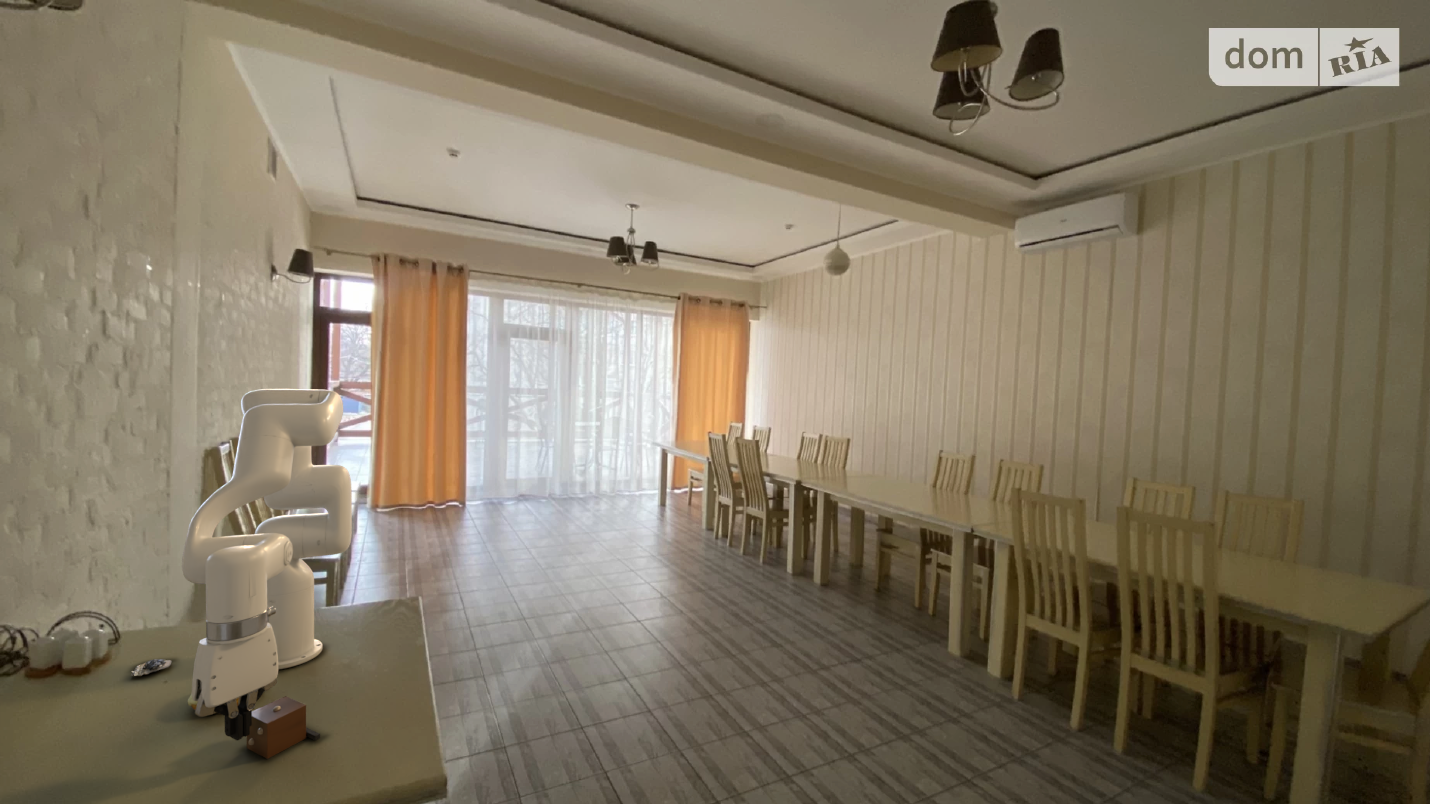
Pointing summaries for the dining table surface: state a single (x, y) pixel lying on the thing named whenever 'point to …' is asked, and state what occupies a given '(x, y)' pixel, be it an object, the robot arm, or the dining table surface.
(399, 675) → the dining table surface
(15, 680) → the dining table surface
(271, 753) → the die
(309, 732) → the stop strip
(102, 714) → the dining table surface
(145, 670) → the oyster shell
